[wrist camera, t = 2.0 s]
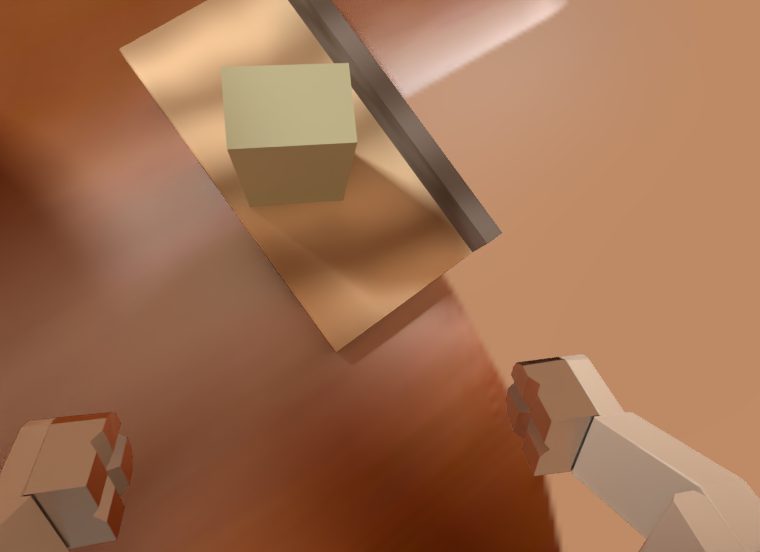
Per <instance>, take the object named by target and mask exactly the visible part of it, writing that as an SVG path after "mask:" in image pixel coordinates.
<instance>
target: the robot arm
mask: <svg viewBox="0 0 760 552" xmlns="http://www.w3.org/2000/svg"><path fill="white" fill-rule="evenodd" d="M511 376H512V378H513V380H514V384H512V385H511V386H510V387H509V388H508V390H507V395H506V409H507V414H508V418H509V422H510V424H511V426H512V429H513V431H514V432H515V433H517V434H518V435H520V436H521V437H522V438H524V442H523V445H522V451H523V453H524V456H525V458H526V460H527V462H528V464H529V467H530V469H531V471H532V473H533V475H534V476H538V475H546V474H554V473H562V472H570V471H572V474H573V475H574V476H575V477H576V478H578V479H579V480H580V481H581V482H582V483H583V484H584V485H586V486H587V487H588V488H589V489H590V490H591V491H592V492H594V493H595V494H596V495H597V496H598V497H599V498H600V499H601V500H603V501H604V502H605V503H606V504H607V505H608V506H609V507H611V508H612V509H613V510H614V511H615V512H616V513H617V514H619V515H620V516H621V517H622V518H623V519H624V520H626V521H627V522H628V523H629V524H630V525H631V526H632V527H633V528H635V529H636V530H637V531H638V532H639V533H641V534H642V535H643V536H644V537H645V538H646V541H645V542H644V544H643V546H642V547H641V549H640V551H639V552H760V500H759V498H758V497H757V496H756V495H755V493H754V492H753V491H752V489H751V488H750V487H749V486H748V484H747V483H746V482H745V481H744V480H743V479H741V478H739V477H738V476H736V475H734V474H733V473H731V472H730V471H728V470H726V469H725V468H723V467H721V466H720V465H718V464H716V463H715V462H713V461H711V460H710V459H708V458H706V457H705V456H703V455H702V454H700V453H698V452H697V451H695V450H693V449H692V448H690V447H688V446H687V445H685V444H683V443H682V442H680V441H679V440H677V439H675V438H674V437H672V436H670V435H669V434H667V433H665V432H664V431H662V430H660V429H659V428H657V427H655V426H654V425H652V424H651V423H649V422H647V421H646V420H644V419H642V418H641V417H639V416H637V415H636V414H634V413H632V412H624V410H623V409H622V408H621V406H620V405H619V403H618V402H617V400H616V399H615V397H614V396H613V394H612V393H611V391H610V390H609V388H608V387H607V385H606V384H605V382H604V381H603V380H602V378H601V377H600V375H599V374H598V372H597V371H596V369H595V368H594V366H593V365H592V363H591V362H590V360H589V359H588V358H587V357H586V356H584V355H583V354H581V355H573V356H565V357H560V358H559V357H554V358H547V359H539V360H532V361H524V362H517V363H516V364H515V365H514V366H513V370H512V373H511ZM120 424H121V423H120V421H119V419H118V417H117V415H116V413H112V412H110V413H99V414H89V415H79V416H69V417H58V418H51V419H41V420H32V421H27V422H26V423H25V424H24V425H23V427H22V428H21V429H20V431H19V433H18V435H17V437H16V440H15V442H14V444H13V446H12V449H11V451H10V453H9V455H8V458H7V460H6V462H5V464H4V467H3V469H2V471H1V473H0V552H69V550H68V549H71V548H76V547H82V546H87V545H93V544H99V543H104V542H110V541H115V540H117V538H118V534H119V529H120V525H121V521H122V516H123V512H124V507H125V506H124V504H123V502H122V500H121V498H120V495H121V494H122V493H123V492H124V491H125V489H126V488H127V487H128V486H129V485H130V480H131V475H132V458H133V456H132V451H131V446H130V443H129V441H128V438H127V437H125V436H123V435H121V434H119V433H118V432H119V428H120Z"/></svg>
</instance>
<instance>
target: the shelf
mask: <svg viewBox="0 0 760 552" xmlns="http://www.w3.org/2000/svg"><path fill="white" fill-rule="evenodd" d="M119 50H120V52H121V53H122V55H123V56H124V58H125V60H126V61H127V63H128V64H129V65H130V67H131V68H132V70H133V71H134V72H135V74H136V75H137V77H138V78H139V79H140V81H141V82H142V83H143V85H144V86H145V88H146V89H147V90H148V92H149V93H150V95H151V96H152V97H153V99H154V100H155V102H156V103H157V104H158V106H159V107H160V109H161V110H162V111H163V113H164V114H165V116H166V117H167V118H168V120H169V121H170V122H171V124H172V125H173V127H174V128H175V129H176V131H177V132H178V134H179V135H180V136H181V138H182V139H183V141H184V142H185V143H186V145H187V146H188V148H189V149H190V150H191V152H192V153H193V155H194V156H195V157H196V159H197V160H198V161H199V163H200V164H201V166H202V167H203V168H204V170H205V171H206V173H207V174H208V175H209V177H210V178H211V180H212V181H213V182H214V184H215V185H216V187H217V188H218V189H219V191H220V192H221V194H222V195H223V196H224V198H225V199H226V201H227V202H228V203H229V205H230V206H231V207H232V209H233V210H234V212H235V213H236V214H237V216H238V217H239V219H240V220H241V221H242V223H243V224H244V226H245V227H246V228H247V230H248V231H249V233H250V234H251V235H252V237H253V238H254V240H255V241H256V242H257V244H258V245H259V246H260V248H261V249H262V251H263V252H264V253H265V255H266V256H267V258H268V259H269V260H270V262H271V263H272V265H273V266H274V267H275V269H276V270H277V272H278V273H279V274H280V276H281V277H282V279H283V280H284V281H285V283H286V284H287V285H288V287H289V288H290V290H291V291H292V292H293V294H294V295H295V297H296V298H297V299H298V301H299V302H300V304H301V305H302V306H303V308H304V309H305V311H306V312H307V313H308V315H309V316H310V318H311V319H312V320H313V322H314V323H315V324H316V326H317V327H318V329H319V330H320V331H321V333H322V334H323V336H324V337H325V338H326V340H327V341H328V343H329V344H330V345H331V347H332V348H333V350H334V351H335V352H337V351H339V350H340V349H341V348H343V347H344V346H346V345H347V344H348V343H350V342H351V341H352V340H354V339H355V338H356V337H358V336H359V335H361V334H362V333H363V332H365V331H366V330H367V329H369V328H370V327H371V326H373V325H374V324H375V323H377V322H378V321H380V320H381V319H382V318H384V317H385V316H386V315H388V314H389V313H390V312H392V311H393V310H395V309H396V308H397V307H399V306H400V305H401V304H403V303H404V302H405V301H407V300H408V299H409V298H411V297H412V296H414V295H415V294H416V293H418V292H419V291H420V290H422V289H423V288H424V287H426V286H427V285H428V284H430V283H431V282H433V281H434V280H435V279H437V278H438V277H439V276H441V275H442V274H443V273H445V272H446V271H448V270H449V269H450V268H451V267H453V266H454V265H455V264H457V263H458V262H460V261H461V260H462V259H464V258H465V257H466V256H468V255H469V254H471V253H472V252H473V251H475V250H477V249H479V248H480V247H482V246H484V245H486V244H487V243H489V242H490V241H491V240H493V239H494V238H495V237H497V236H498V235H500V234H501V233H502V232H501V231H500V229H499V228H498V227H497V225H496V224H495V222H494V221H493V220H492V218H491V217H490V216H489V214H488V213H487V212H486V210H485V209H484V207H483V206H482V205H481V203H480V202H479V201H478V199H477V198H476V197H475V195H474V194H473V193H472V191H471V190H470V189H469V187H468V186H467V184H466V183H465V182H464V180H463V179H462V178H461V176H460V175H459V174H458V172H457V171H456V169H455V168H454V167H453V165H452V164H451V163H450V161H449V160H448V159H447V157H446V156H445V154H444V153H443V152H442V151H441V149H440V148H439V146H438V145H437V144H436V142H435V141H434V139H433V138H432V137H431V135H430V134H429V133H428V131H427V130H426V129H425V127H424V126H423V124H422V123H421V122H420V120H419V119H418V118H417V116H416V115H415V114H414V112H413V111H412V110H411V108H410V107H409V105H408V104H407V103H406V101H405V100H404V99H403V97H402V96H401V95H400V93H399V92H398V90H397V89H396V88H395V86H394V85H393V84H392V82H391V81H390V80H389V78H388V77H387V75H386V74H385V73H384V71H383V70H382V69H381V67H380V66H379V65H378V63H377V62H376V61H375V59H374V58H373V56H372V55H371V54H370V52H369V51H368V50H367V48H366V47H365V46H364V44H363V43H362V41H361V40H360V39H359V37H358V36H357V35H356V33H355V32H354V31H353V29H352V28H351V26H350V25H349V24H348V22H347V21H346V20H345V18H344V17H343V16H342V14H341V13H340V12H339V10H338V9H337V7H336V6H335V5H334V3H333V2H332V1H331V0H207V1H205V2H204V3H202V4H200V5H198V6H196V7H194V8H193V9H191V10H189V11H187V12H185V13H184V14H182V15H180V16H178V17H176V18H175V19H173V20H171V21H169V22H167V23H165V24H164V25H162V26H160V27H158V28H156V29H155V30H153V31H151V32H149V33H147V34H145V35H144V36H142V37H140V38H138V39H136V40H135V41H133V42H131V43H129V44H127V45H125V46H124V47H122V48H120V49H119ZM331 63H349V69H350V78H351V87H352V97H353V106H354V115H355V124H356V134H357V146H356V150H355V154H354V158H353V162H352V166H351V170H350V174H349V178H348V182H347V186H346V190H345V194H344V198H343V200H341V201H327V202H312V203H298V204H283V205H269V206H255V207H250V206H249V204H248V201H247V199H246V196H245V194H244V191H243V189H242V186H241V184H240V181H239V178H238V176H237V173H236V171H235V168H234V166H233V163H232V161H231V158H230V156H229V153H228V151H227V143H226V130H225V117H224V104H223V92H222V79H221V67H233V66H265V65H298V64H331Z"/></svg>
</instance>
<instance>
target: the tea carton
mask: <svg viewBox="0 0 760 552" xmlns="http://www.w3.org/2000/svg"><path fill="white" fill-rule="evenodd" d="M221 79H222V92H223V104H224V117H225V130H226V143H227V151H228V153H229V156H230V158H231V161H232V163H233V166H234V168H235V171H236V173H237V176H238V178H239V181H240V184H241V186H242V189H243V191H244V194H245V196H246V199H247V201H248V204H249V206H250V207H255V206H269V205H283V204H298V203H312V202H327V201H341V200H343V198H344V194H345V190H346V186H347V182H348V178H349V174H350V170H351V166H352V162H353V158H354V154H355V150H356V146H357V134H356V124H355V115H354V106H353V97H352V87H351V78H350V69H349V63H331V64H298V65H265V66H233V67H221Z"/></svg>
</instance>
